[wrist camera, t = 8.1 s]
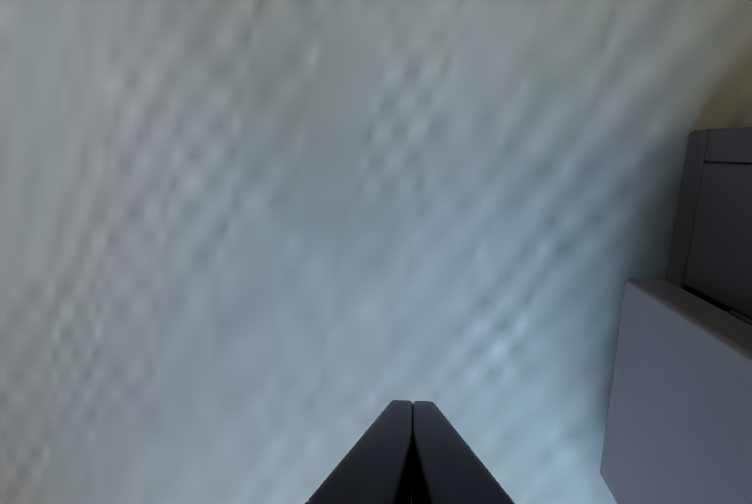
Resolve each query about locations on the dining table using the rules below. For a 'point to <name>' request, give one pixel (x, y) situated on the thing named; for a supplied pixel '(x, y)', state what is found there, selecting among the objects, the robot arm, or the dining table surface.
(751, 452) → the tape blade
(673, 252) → the tape case
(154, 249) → the dining table surface
